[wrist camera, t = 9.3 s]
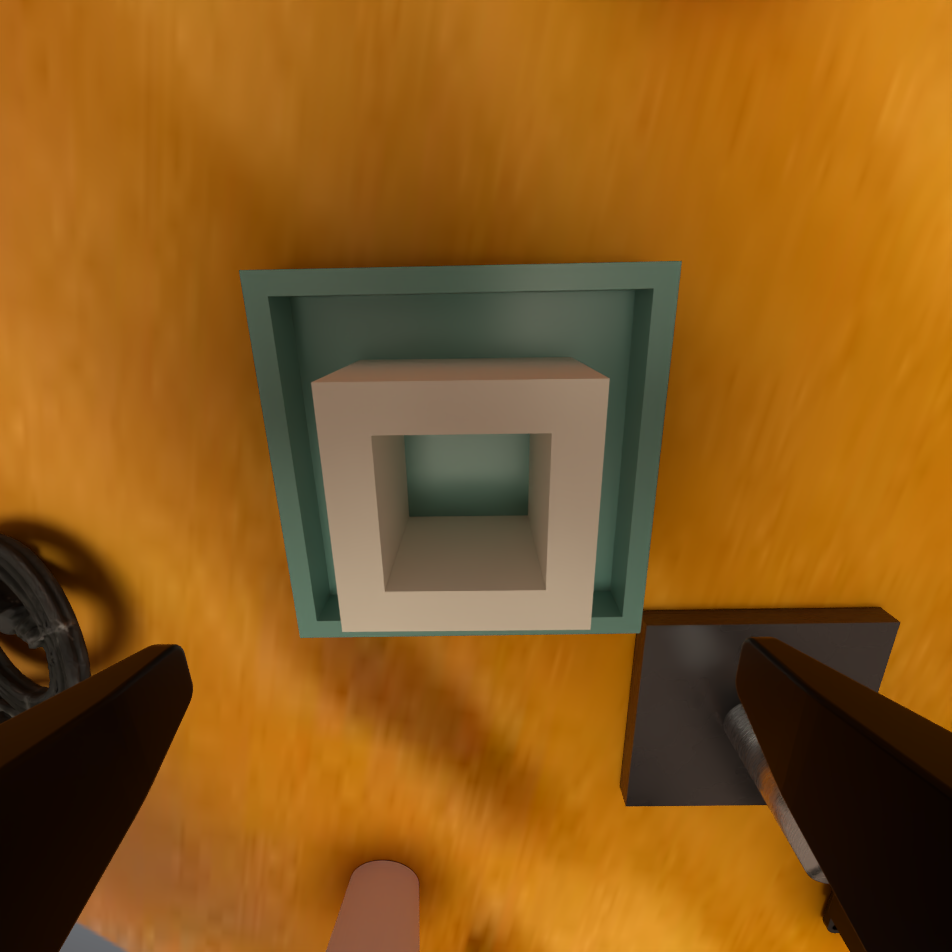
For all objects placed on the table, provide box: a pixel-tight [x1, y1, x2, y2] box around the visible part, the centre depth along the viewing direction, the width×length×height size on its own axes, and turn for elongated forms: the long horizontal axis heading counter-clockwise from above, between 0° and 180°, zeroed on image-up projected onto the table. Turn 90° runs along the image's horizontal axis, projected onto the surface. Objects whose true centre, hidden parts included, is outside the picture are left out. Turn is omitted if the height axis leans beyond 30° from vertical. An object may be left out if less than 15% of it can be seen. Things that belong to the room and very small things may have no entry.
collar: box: [311, 357, 610, 632], centre depth 15 cm, size 7×7×5 cm
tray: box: [239, 261, 682, 638], centre depth 17 cm, size 12×12×2 cm
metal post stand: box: [620, 607, 900, 884], centre depth 19 cm, size 10×10×6 cm
